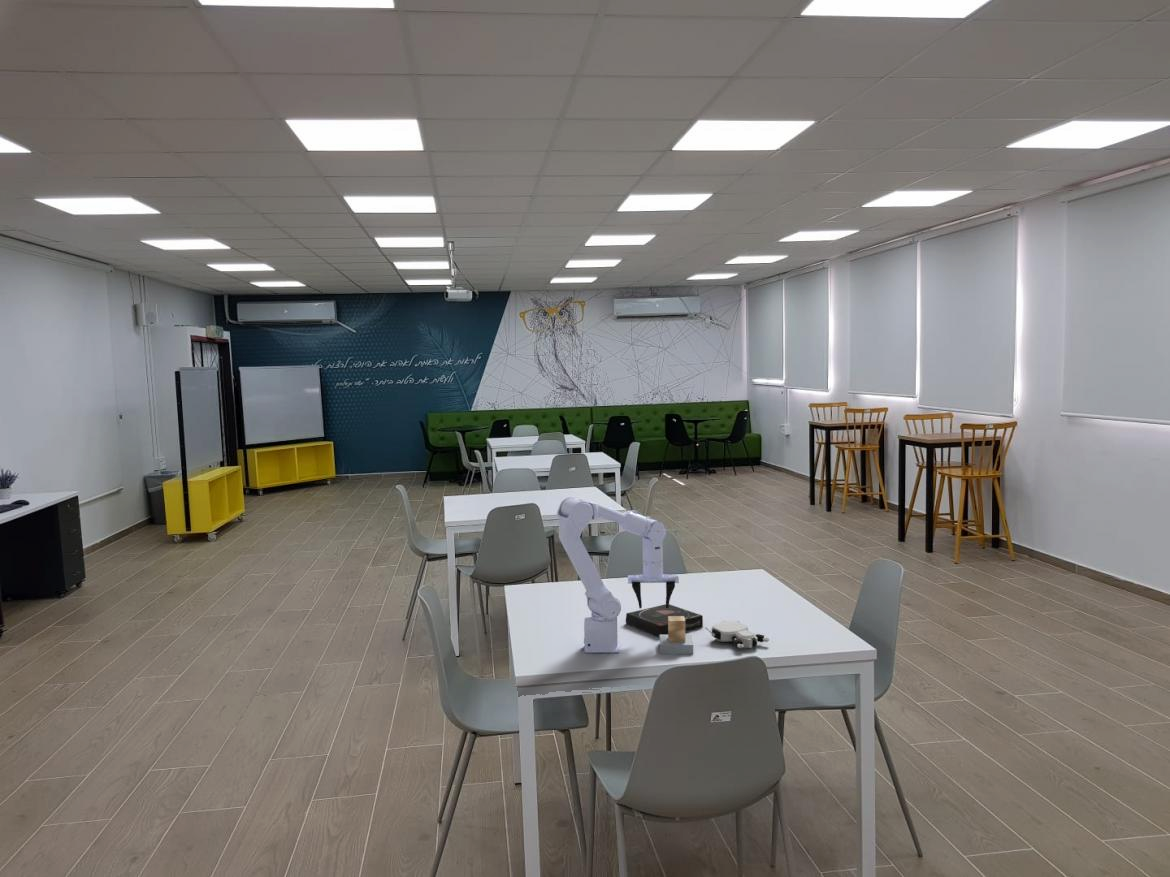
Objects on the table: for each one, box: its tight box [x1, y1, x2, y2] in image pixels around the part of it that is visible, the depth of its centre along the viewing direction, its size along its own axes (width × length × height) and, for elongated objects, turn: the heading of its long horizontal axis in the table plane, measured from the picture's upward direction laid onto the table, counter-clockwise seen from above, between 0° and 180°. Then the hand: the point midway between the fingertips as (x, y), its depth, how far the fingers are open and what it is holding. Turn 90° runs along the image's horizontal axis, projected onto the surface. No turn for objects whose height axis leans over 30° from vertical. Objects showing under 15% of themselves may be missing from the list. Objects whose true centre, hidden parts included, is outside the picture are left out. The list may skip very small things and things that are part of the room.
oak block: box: [668, 616, 686, 642], centre depth 225 cm, size 4×4×6 cm
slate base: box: [659, 633, 694, 655], centre depth 226 cm, size 9×9×3 cm
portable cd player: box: [625, 603, 704, 639], centre depth 247 cm, size 16×17×4 cm
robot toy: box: [705, 619, 770, 649], centre depth 229 cm, size 12×4×15 cm
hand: (653, 607), depth 234 cm, fingers open, 7 cm apart
